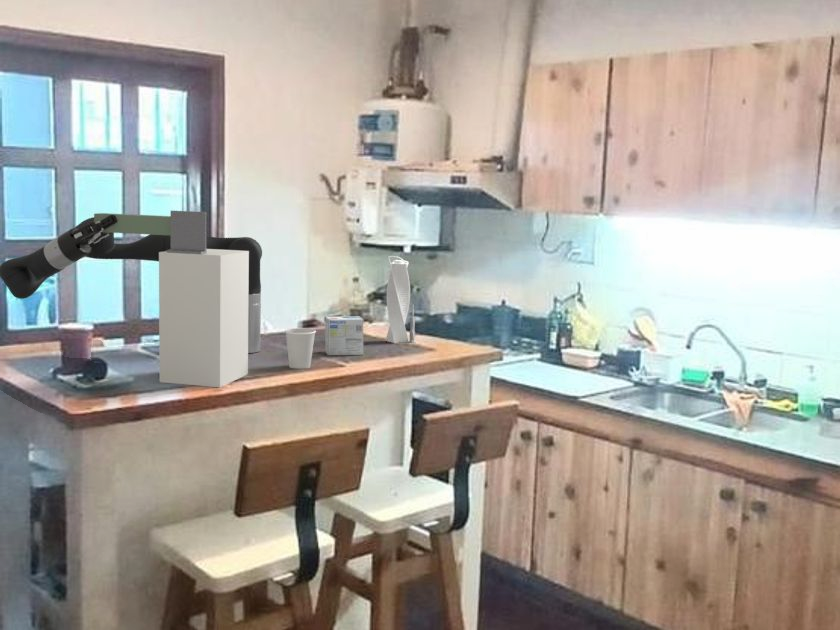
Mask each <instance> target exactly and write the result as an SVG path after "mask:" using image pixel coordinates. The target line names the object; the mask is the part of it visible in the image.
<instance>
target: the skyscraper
mask: <svg viewBox="0 0 840 630" xmlns="http://www.w3.org/2000/svg"><path fill="white" fill-rule="evenodd" d="M390 258H395V259H393V260H392V261H391V259H390ZM387 259H388V263H389V265H390V271H389V275H388V280H387V286H386V309H387V310H386V311H387V316H388V317H387V318H388V323H389V327H388V330H387V335H386V338H385V342H386V341H387V342H388V343H390V342H391V344H394V345H399V346H400V345H407V344H410V343H411V344H416V341H415V339H416V338H415V337H416V331H415V325H416V324H415V323H416V317H415V308H414V303H413V304H412V309H411V317H410V327H409V328H410V331H409V338H408V333H407V329H406V322H407V317H408V314H409V310H410V309H409V308H410V304H411V303H410V302H411V282H410V277H409V271H408V269H409V268H408V267H409V264H410V262H409V261H408V260H404V259H403V258H402V257H400V256H397V255H389V256H387Z"/></svg>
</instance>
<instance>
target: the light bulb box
mask: <svg viewBox="0 0 840 630" xmlns="http://www.w3.org/2000/svg"><path fill="white" fill-rule="evenodd" d="M324 325H325V327H324V328H325V331H324V332H325V334H324V335H325V336H324V338H325V340H324V343H325V345H324V346H325V348H324V352H325V354H327V356H356V355H357V356H361V355H364V318H362V317H361V316H360V315H357V316H356V315H355V316H344V315H343V316H325V324H324Z"/></svg>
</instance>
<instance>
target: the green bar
mask: <svg viewBox="0 0 840 630" xmlns="http://www.w3.org/2000/svg"><path fill="white" fill-rule="evenodd" d="M110 215H115V217H116V219H117V223H115V224H113V225H112V226H110V227H108V228H107V229H105V230H104V231H102V232H110V233H114V234H115V233H116V234H131V235H134V234H135V235H150V234H151V235H171V215H156V214H155V215H152V214H151V215H150V214H132V213H131V214H129V213H128V214H127V213H111V212H110V213H106V212H105V213H104V212H99V213H96V212H95V213H93V217H94V222H95V223H96V222H97V221H101V220H103V219H105V218H106V217H108V216H110Z"/></svg>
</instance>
